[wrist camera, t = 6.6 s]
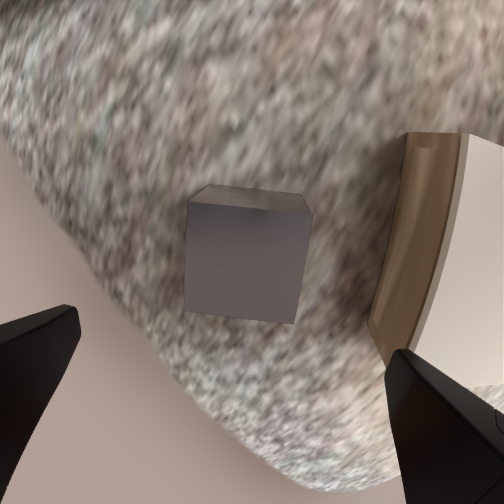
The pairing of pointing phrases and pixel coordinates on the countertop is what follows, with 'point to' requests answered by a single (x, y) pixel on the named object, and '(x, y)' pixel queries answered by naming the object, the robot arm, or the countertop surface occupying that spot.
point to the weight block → (245, 253)
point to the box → (414, 238)
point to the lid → (469, 275)
